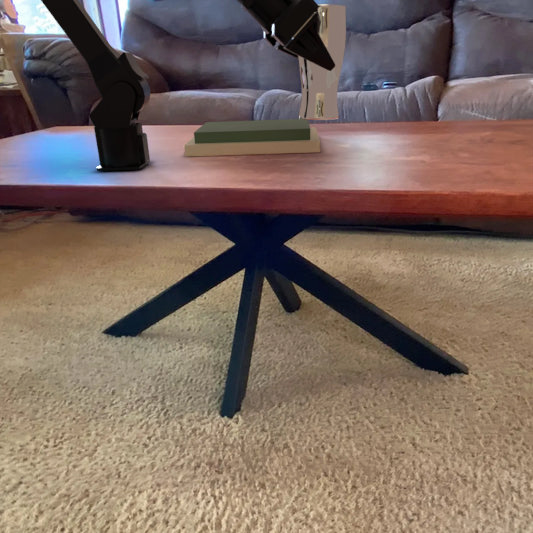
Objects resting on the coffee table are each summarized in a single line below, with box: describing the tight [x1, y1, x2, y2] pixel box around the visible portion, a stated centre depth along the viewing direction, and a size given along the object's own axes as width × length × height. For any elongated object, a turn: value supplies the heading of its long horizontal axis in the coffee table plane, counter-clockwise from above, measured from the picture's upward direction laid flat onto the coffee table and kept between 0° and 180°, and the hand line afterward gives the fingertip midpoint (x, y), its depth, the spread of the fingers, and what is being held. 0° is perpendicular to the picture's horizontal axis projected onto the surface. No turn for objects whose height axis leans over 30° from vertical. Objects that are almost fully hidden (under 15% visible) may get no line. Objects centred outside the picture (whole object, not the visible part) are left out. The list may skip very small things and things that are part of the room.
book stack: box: [183, 118, 321, 158], centre depth 89 cm, size 22×16×4 cm
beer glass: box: [297, 4, 347, 121], centre depth 74 cm, size 7×7×15 cm
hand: (328, 67), depth 74 cm, fingers closed on beer glass, 6 cm apart
